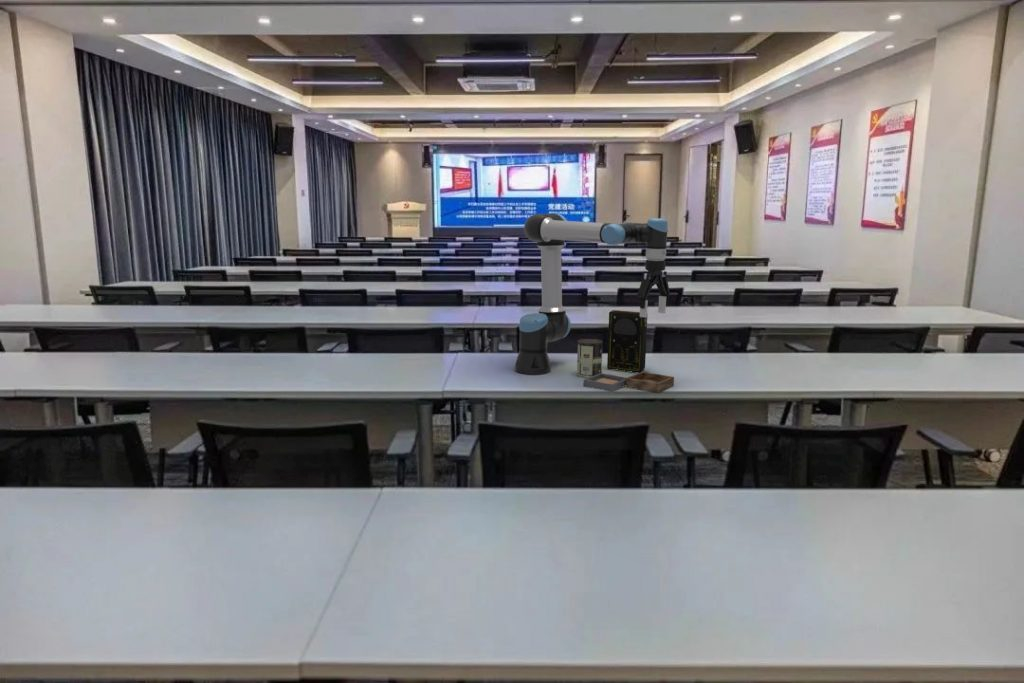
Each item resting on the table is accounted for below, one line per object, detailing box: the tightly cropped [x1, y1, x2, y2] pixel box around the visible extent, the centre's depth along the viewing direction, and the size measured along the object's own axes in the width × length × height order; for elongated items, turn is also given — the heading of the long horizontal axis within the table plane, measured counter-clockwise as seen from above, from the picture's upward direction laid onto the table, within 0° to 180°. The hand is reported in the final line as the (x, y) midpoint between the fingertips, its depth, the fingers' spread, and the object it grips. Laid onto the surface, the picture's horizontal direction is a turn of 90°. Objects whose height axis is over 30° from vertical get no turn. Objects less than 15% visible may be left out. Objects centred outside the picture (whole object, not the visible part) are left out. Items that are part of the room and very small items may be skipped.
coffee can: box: [576, 338, 604, 378], centre depth 281 cm, size 10×10×14 cm
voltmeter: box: [606, 309, 648, 374], centre depth 288 cm, size 16×9×25 cm, turn 62°
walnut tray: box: [625, 371, 675, 394], centre depth 264 cm, size 14×14×4 cm
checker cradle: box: [582, 372, 627, 393], centre depth 266 cm, size 13×13×2 cm
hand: (652, 314), depth 265 cm, fingers open, 13 cm apart
